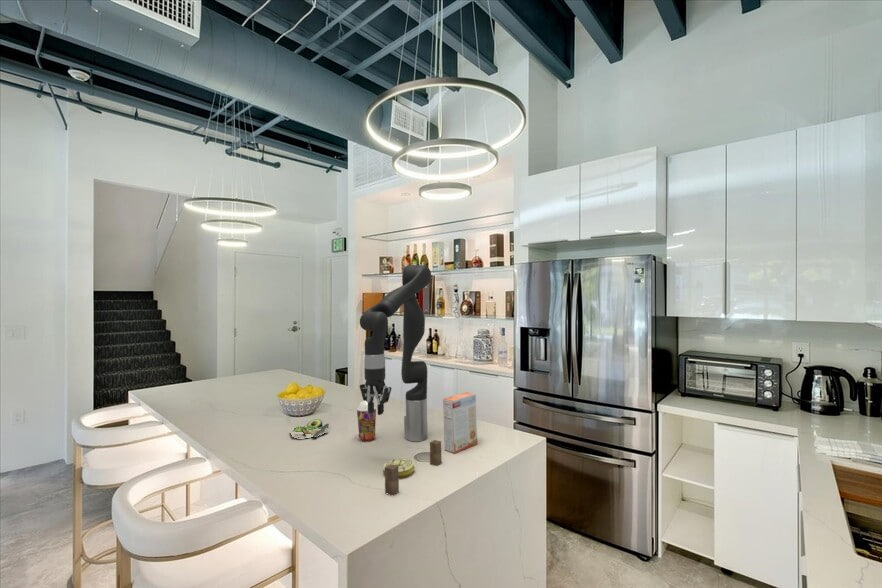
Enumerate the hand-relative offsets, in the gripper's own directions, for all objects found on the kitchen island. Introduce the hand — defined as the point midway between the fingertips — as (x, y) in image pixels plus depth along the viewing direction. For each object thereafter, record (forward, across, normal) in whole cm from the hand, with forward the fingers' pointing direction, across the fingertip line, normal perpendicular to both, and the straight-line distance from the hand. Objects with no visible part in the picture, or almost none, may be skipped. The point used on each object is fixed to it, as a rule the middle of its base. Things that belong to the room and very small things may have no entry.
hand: (375, 413), depth 146 cm
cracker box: (+19, -18, -31) cm, 41 cm away
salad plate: (+20, +52, -13) cm, 58 cm away
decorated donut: (+20, -10, 0) cm, 22 cm away
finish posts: (+19, -18, 0) cm, 26 cm away
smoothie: (+19, +22, -19) cm, 35 cm away
